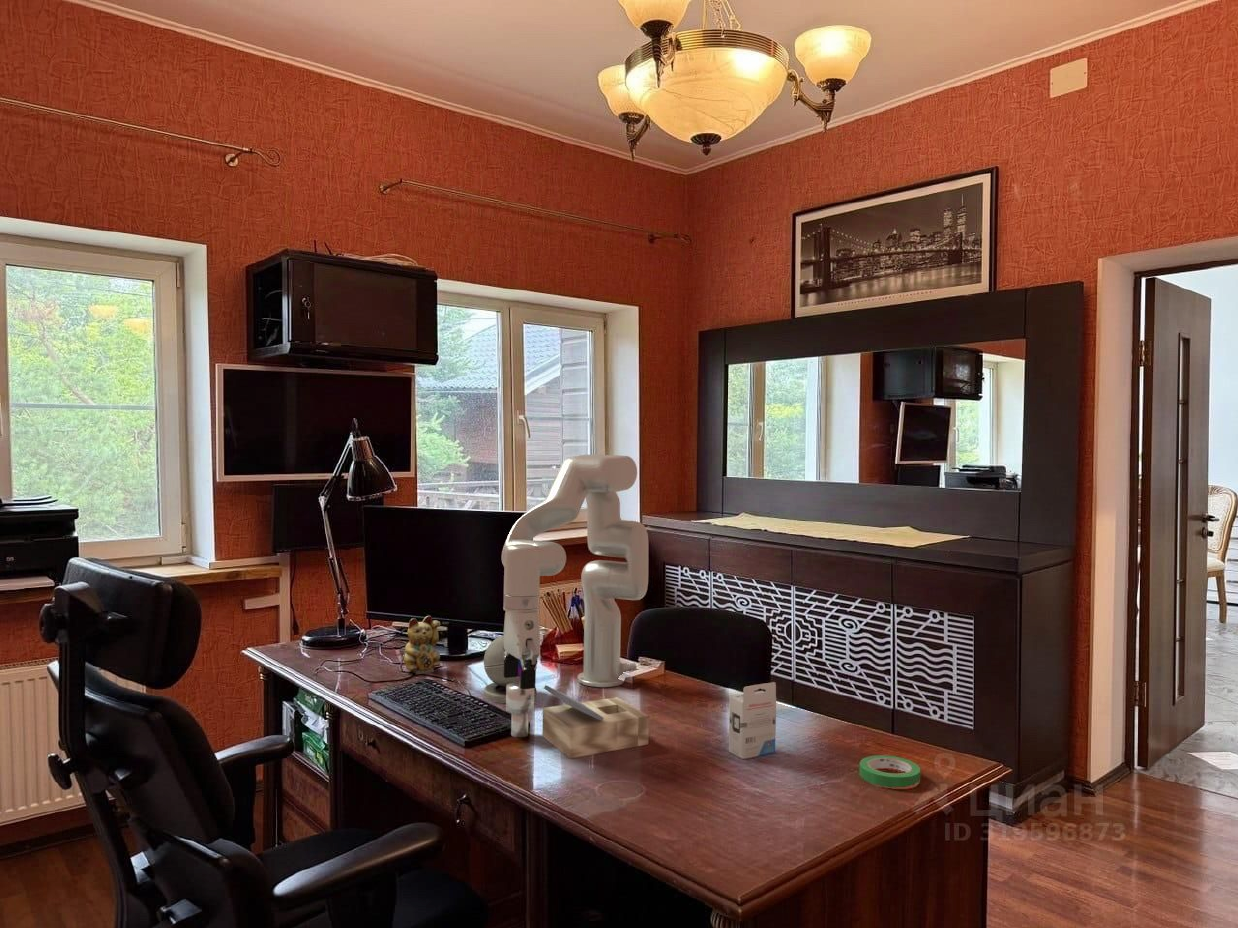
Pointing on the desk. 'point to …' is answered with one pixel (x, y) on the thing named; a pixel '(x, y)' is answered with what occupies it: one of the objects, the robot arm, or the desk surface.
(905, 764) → the tape roll
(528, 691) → the light bulb
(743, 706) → the ink box
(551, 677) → the desk surface
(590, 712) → the plate
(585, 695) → the desk surface
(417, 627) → the decorative figurine
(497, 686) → the webcam
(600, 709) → the block
